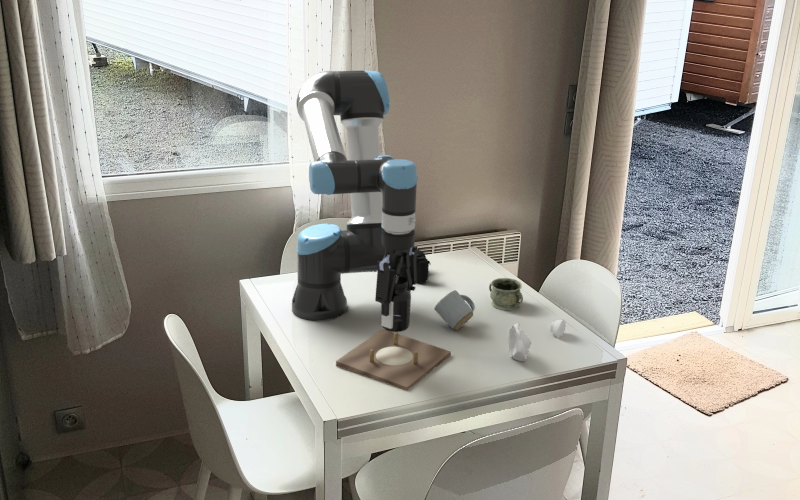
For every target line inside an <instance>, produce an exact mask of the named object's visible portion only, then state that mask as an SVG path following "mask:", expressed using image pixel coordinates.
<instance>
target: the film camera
mask: <svg viewBox="0 0 800 500" xmlns="http://www.w3.org/2000/svg"><path fill="white" fill-rule="evenodd" d="M429 266H431V261H430V260H429V259H428V258H427V257H426V254H425V253H424V251H422V250H421V249H417V254H416V270H417V283H422V284H423V283H427V281H428V278H429ZM390 269H391V268H390ZM391 270H394V269H391ZM397 276H399V274H398V275H397ZM411 279H412V278H411Z"/></svg>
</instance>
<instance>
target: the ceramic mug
mask: <svg viewBox="0 0 800 500" xmlns="http://www.w3.org/2000/svg"><path fill="white" fill-rule="evenodd" d="M475 309H476V305H475V303H474V300H472V298H470V297H468V295H466V294H465V295H464V294H459V292H458V291H457V290H455V289H454V290H452V291H450V292H449V293H447V294H446V295H445V296H444V297H442V298H441V299H440V300H439V301H438V302H437V303H436V304H435V306H434V312H436V313H437V314H438V315H439V316H440V317H441V318H442V320H443V321H444V322H445V323H446V324H447V325H448V326H449V327H450V328H451V329H452V330H454V331H455V330H459V329H460V328H462V327H463V326H464V325H466V323H468V322H469V320H471V319H472V317H473V316H474V311H475Z"/></svg>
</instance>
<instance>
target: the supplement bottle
mask: <svg viewBox="0 0 800 500" xmlns="http://www.w3.org/2000/svg"><path fill="white" fill-rule="evenodd" d="M407 283H408V281H407V279H406V278H404V277H400V276H396V281H395V286H394V290H393V295H392V300H391V302H393V328H391V329H390V328H387V327H384V326H381V328H382V329H385V330H387V331H391V332H394V333H395V332H397V333H399V332H400V333H402V332H404V331H407V330H408V328H409V327H410V321H411V320H410V318H411V303H412V292H411V293H410V291H409V290H408V289H407V288H408V285H407Z"/></svg>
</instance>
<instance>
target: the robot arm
mask: <svg viewBox="0 0 800 500" xmlns="http://www.w3.org/2000/svg"><path fill="white" fill-rule="evenodd" d="M296 109H297V114H298V116H299V118H300V119H301V121H303V122H304V126H305V130H306V133H307V137H308V141H309V145H310V150H311V153H312V154H311V155H312V157H313V162H310V164H309V166H308V167H309V168H308V180H309V181H308V182H309V187H310V188H309V189H310V190H311V193H313V194H314V195H327V196H331V195H340V194H341V195H343V194H350V206H351V207H350V208H351V218H350V219H349V220H348V221H347V222H346V229H345V230H342V229H341V227H340V226H339V225H337V224H333V223H332V224H330V223H318V224H313V225H310V226H307V227H306V228H304V229H302V230H301V231H300V232H299V233H298V235H297V239H296V240H297V241H296V249H295V250H296V255H297V258H296V260H297V261H296V262H297V263H296V264H297V265H296V266H297V284H296V287H295V290H294V293H293V296H292V300H291V311H292V313H293V314H294V316H295V315H296V316H297V317H298V318H301V319H303V320H308V321H329V320H333V319H337V318H340V317H342V316H343V315H344V314H345V313H346V312H347V310H348V301H347V300H348V299H347V297H346V296H345V292H344V289H343V286H342V283H341V282H342V281H341V279H342V278H341V275H343V274H355V273H370V272H371V273H372V272H373V273H377V274H376V288H375V297H374V298H375V299H374V300H375V302H377V303H381V305H380V306H381V307H380V308H381V309H380V310H381V313H380V325H381V327H382V326H384V327H387V328H390V329H391V328H393V302H391V300H392V295H393V290H394V286H395V281H396V276H397V275H398V274H399V276H400V277H404V278H406V279H407V281H408V283H407V285H408V288H407V289H408V290H409V291H410V293H411V294H412V292H411V291H414V292H415V290H416V284H417V283H418V282H417V270H416V254H417V250H418V246H416V245H415V243H416V242H415V239H416V238H415V237H416V231H415V228H416V221H417V219H416V208H417V207H416V206H417V205H416V204H417V189H418V188H417V186H418V185H417V183H418V180H419V179H418V172H417V171H418V168H417V165H416V163H415V162H414V161H412V160H409V159H404V158H403V159H402V158H399V159H398V158H395V157H393V156H392V155H388V154H381V153H380V152H381V149H380V132H379V131H380V130H379V129H380V128H379V127H380V125H382V123H383V122H384V116H385V115H387V114H388V113H390V112H389V111H390V94H389V89H388V85H387V82H386V79H385V77H384V76H383V74H382V73H381V72H379V71H377V70H367V69H363V70H333V71H332V70H324V71H319V72H318V73H316V74H314V75H312V76H311V77H309V78H308V79H307V80H306V81H305V82H304V83H303V85H302V86H301V88H300V89H299V91H298V94H297V98H296ZM335 116H340V123H341V124H342V126H344V127H345V128H346V137H347V140H346V141H347V154H348V156H347V155H346V152H345V150H344V146H343V145H344V144H343V142H342V138H341V136H340V132H339V129H338V126H337V122H336V119H335ZM347 157H348V158H347ZM390 268H391V269H394V270H391V269H390ZM411 278H412V279H411Z"/></svg>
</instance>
